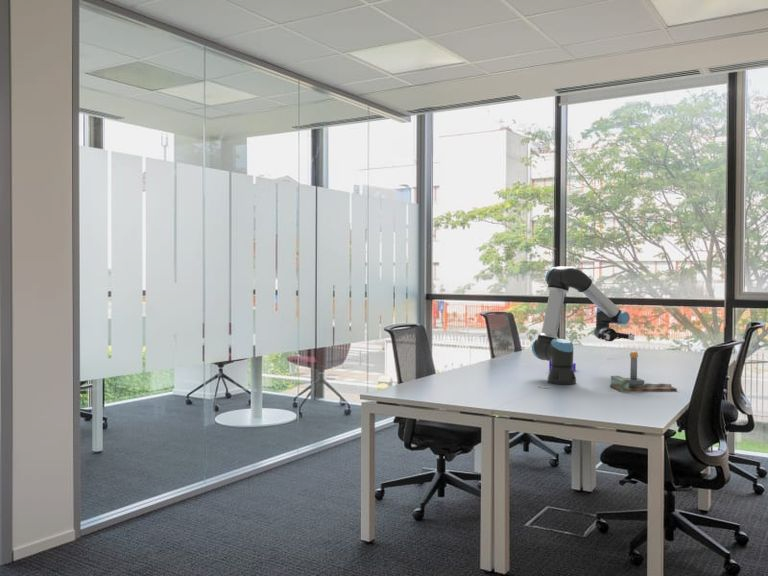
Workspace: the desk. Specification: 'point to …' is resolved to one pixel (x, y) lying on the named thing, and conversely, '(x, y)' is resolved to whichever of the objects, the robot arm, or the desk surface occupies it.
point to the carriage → (634, 371)
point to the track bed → (623, 386)
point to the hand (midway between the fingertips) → (621, 337)
